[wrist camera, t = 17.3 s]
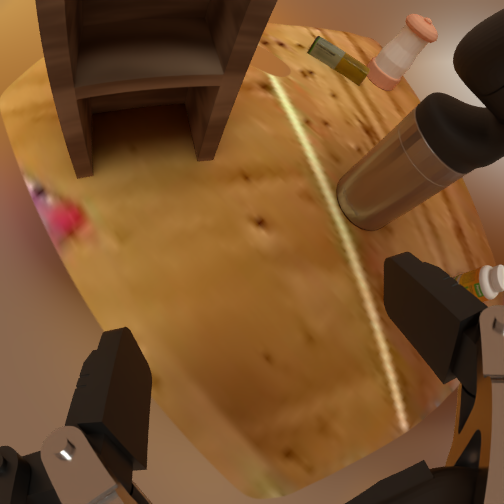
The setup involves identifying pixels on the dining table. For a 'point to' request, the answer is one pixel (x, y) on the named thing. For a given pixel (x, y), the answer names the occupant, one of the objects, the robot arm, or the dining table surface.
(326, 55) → the medication box
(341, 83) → the dining table surface
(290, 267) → the dining table surface
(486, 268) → the supplement bottle
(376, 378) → the dining table surface
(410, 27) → the pepper shaker
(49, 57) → the walnut stand
